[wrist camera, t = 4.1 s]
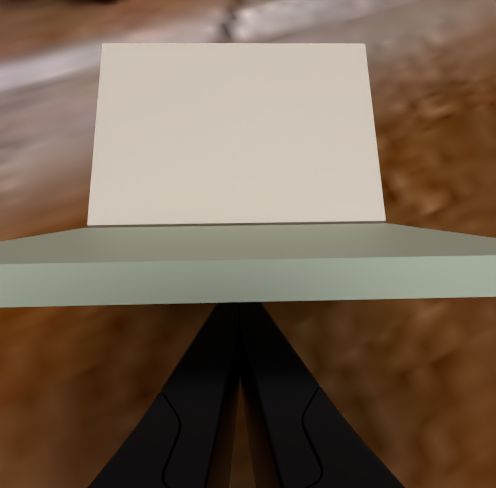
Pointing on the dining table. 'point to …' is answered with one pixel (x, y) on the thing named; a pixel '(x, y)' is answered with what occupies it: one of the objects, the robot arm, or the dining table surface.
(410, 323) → the dining table surface
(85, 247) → the lid
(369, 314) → the dining table surface
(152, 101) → the box
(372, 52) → the dining table surface
